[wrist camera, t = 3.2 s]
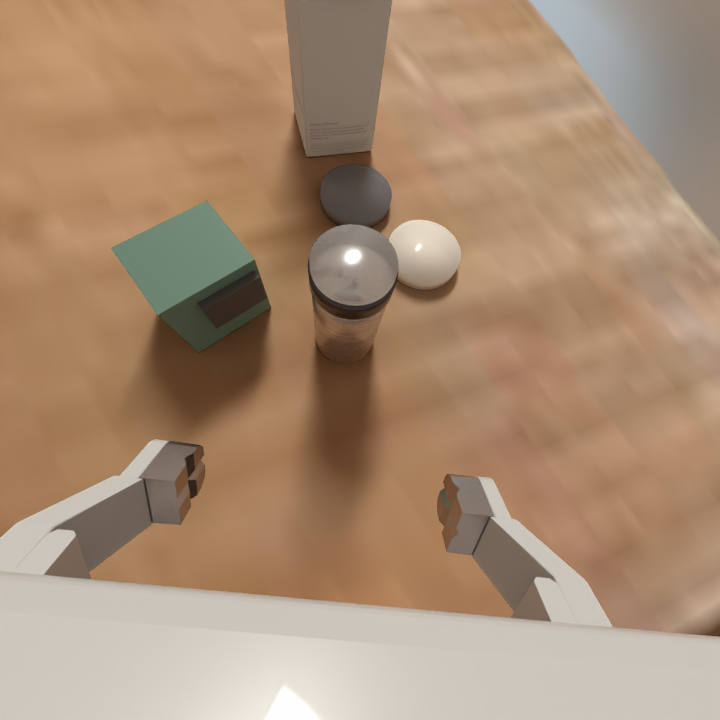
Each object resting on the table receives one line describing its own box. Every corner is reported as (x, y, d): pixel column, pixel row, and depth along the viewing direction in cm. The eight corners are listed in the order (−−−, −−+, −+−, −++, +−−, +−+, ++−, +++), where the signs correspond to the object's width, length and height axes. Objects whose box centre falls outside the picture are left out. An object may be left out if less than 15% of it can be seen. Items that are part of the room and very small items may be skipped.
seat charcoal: (349, 241, 32) (350, 232, 31) (306, 193, 33) (305, 183, 32) (403, 208, 34) (406, 199, 33) (360, 164, 35) (361, 154, 34)
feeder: (203, 359, 27) (163, 323, 20) (161, 299, 28) (110, 247, 22) (275, 313, 29) (260, 266, 22) (233, 259, 30) (206, 200, 24)
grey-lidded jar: (339, 376, 28) (346, 320, 17) (302, 330, 29) (288, 251, 18) (386, 341, 29) (419, 270, 19) (349, 299, 30) (361, 208, 20)
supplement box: (373, 152, 36) (396, -5, 24) (305, 159, 35) (293, -4, 23) (357, 104, 38) (371, -63, 26) (293, 108, 37) (276, -64, 25)
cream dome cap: (418, 303, 31) (422, 296, 30) (370, 250, 32) (372, 242, 31) (470, 265, 33) (475, 258, 31) (423, 217, 34) (426, 208, 33)
